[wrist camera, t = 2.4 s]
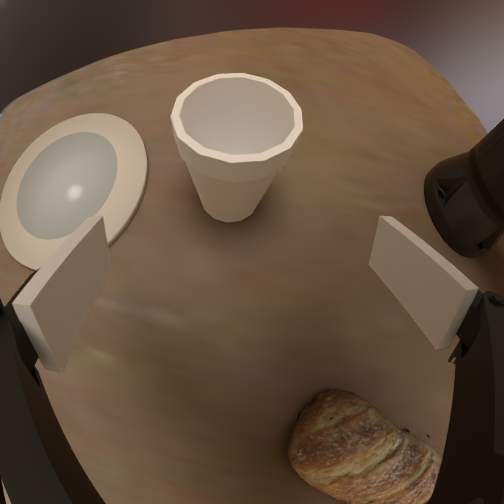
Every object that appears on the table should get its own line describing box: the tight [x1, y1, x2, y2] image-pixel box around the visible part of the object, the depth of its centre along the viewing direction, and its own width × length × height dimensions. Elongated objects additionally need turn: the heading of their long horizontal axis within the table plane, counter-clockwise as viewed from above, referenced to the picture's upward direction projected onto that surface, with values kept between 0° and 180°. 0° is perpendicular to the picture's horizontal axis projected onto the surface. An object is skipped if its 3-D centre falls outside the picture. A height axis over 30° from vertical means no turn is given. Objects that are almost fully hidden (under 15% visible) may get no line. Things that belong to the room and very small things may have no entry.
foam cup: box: [171, 73, 303, 223], centre depth 25 cm, size 10×9×13 cm
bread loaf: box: [287, 389, 442, 504], centre depth 20 cm, size 35×18×9 cm, turn 57°
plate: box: [0, 113, 148, 271], centre depth 29 cm, size 22×22×1 cm
